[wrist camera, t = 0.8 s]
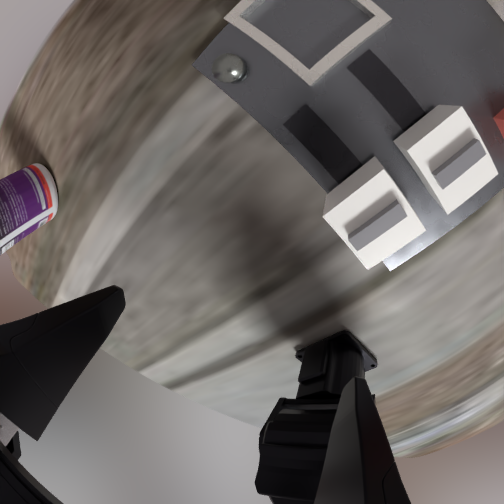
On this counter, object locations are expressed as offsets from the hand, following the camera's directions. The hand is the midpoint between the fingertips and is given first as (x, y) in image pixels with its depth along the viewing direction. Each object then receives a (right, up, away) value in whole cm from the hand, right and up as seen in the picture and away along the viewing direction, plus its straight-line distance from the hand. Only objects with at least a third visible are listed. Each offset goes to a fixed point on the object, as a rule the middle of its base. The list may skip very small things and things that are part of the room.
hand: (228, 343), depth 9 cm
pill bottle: (-26, +11, +18) cm, 34 cm away
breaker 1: (+8, +6, +7) cm, 12 cm away
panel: (+11, +14, +3) cm, 18 cm away
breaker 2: (+12, +9, +4) cm, 15 cm away
